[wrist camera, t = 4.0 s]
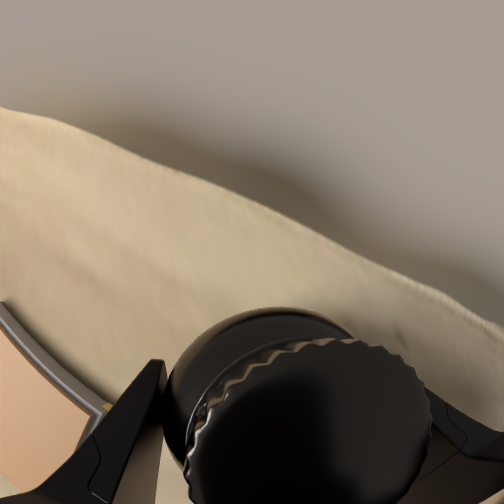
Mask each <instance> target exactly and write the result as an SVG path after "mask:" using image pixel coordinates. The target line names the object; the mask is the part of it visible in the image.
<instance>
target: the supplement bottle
mask: <svg viewBox="0 0 504 504" xmlns="http://www.w3.org/2000/svg"><path fill="white" fill-rule="evenodd" d="M161 420H162V429H163V433H164V438H165V441H166V444H167V447H168V449H169V451H170V453H171V456H172V457H173V459H174V461H175V462H176V464H177V465H178V467H179V468H180V469H181V471H182V472H183V475H184V478H185V480H186V482H187V484H188V485H189V487H188V496H189V499H190V500H191V501H192V502H193V503H194V504H397V503H398V502H399V501H400V500H401V499H402V498H403V497H404V496H405V495H406V494H407V493H408V491H409V489H410V487H411V485H412V483H413V482H414V481H415V479H416V478H417V477H418V475H419V473H420V470H421V466H422V464H423V463H424V461H425V459H426V458H427V454H428V446H429V443H430V441H431V438H432V434H431V425H432V420H433V418H432V415H431V413H430V399H429V398H428V396H427V395H426V394H425V386H424V383H423V382H422V381H421V380H419V379H418V378H417V376H416V372H415V370H414V368H413V367H411V366H408V365H405V363H404V362H403V359H402V358H401V356H400V355H398V354H393V353H389V352H388V351H387V350H386V349H385V348H384V347H383V346H381V345H378V344H371V345H367V344H366V343H364V342H363V341H361V340H359V339H358V338H357V337H356V336H355V335H354V334H353V333H351V332H350V331H349V330H348V329H347V328H345V327H344V326H343V325H341V324H339V323H338V322H336V321H335V320H333V319H330V318H328V317H326V316H324V315H321V314H319V313H316V312H313V311H309V310H305V309H300V308H294V307H267V308H259V309H255V310H250V311H246V312H243V313H240V314H237V315H234V316H232V317H230V318H227V319H225V320H223V321H221V322H219V323H218V324H216V325H214V326H213V327H211V328H210V329H208V330H207V331H205V332H204V333H203V334H201V335H200V336H199V337H198V338H197V339H196V340H195V341H194V342H193V343H192V344H191V345H190V346H189V347H188V348H187V349H186V350H185V352H184V353H183V354H182V355H181V357H180V358H179V360H178V361H177V363H176V364H175V366H174V368H173V370H172V372H171V374H170V376H169V378H168V381H167V383H166V386H165V390H164V394H163V399H162V406H161Z"/></svg>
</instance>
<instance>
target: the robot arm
mask: <svg viewBox="0 0 504 504" xmlns="http://www.w3.org/2000/svg"><path fill="white" fill-rule="evenodd" d="M167 381H168V379H167V372H166V367H165V362H164V360H162V359H151V360H150V361H149V362H148V363H147V365H146V366H145V367H144V368H143V369H142V371H141V372H140V373H139V374H138V375H137V377H136V378H135V379H134V380H133V382H132V383H131V384H130V385H129V387H128V388H127V389H126V390H125V391H124V393H123V394H122V395H121V396H120V398H119V399H118V400H117V401H116V402H115V404H114V405H113V406H112V407H111V409H110V410H109V411H108V412H107V414H106V415H105V416H104V417H103V419H102V420H101V421H100V422H99V424H98V425H97V426H96V427H95V428H94V430H93V431H92V433H90V434H89V436H88V437H87V438H86V440H85V441H84V442H83V443H82V444H81V445H80V447H79V448H78V449H77V450H76V451H75V452H74V453H73V454H72V455H71V456H70V457H69V458H68V459H67V460H66V461H65V462H64V463H63V464H62V465H61V466H60V467H59V468H58V469H57V470H56V471H55V472H54V473H53V474H52V475H50V476H49V477H48V478H47V479H46V480H45V481H44V482H43V483H42V484H40V485H39V486H38V487H36V488H34V489H33V490H30V491H28V492H25V493H21V494H17V495H12V496H8V497H3V498H0V504H155V496H156V488H157V479H158V471H159V464H160V457H161V450H162V443H163V437H164V433H163V429H162V420H161V406H162V399H163V394H164V390H165V386H166V383H167ZM425 394H426V395H427V396H428V398H429V399H430V413H431V415H432V418H433V420H432V425H431V434H432V438H431V441H430V443H429V446H428V454H427V458H426V459H425V461H424V463H423V464H422V466H421V470H420V473H419V475H418V477H417V478H416V479H415V481H414V482H413V483H412V485H411V487H410V489H409V491H408V493H407V494H406V495H405V496H404V497H403V498H402V499H401V500H400V501H399V502H398V503H397V504H504V432H499V431H495V430H492V429H490V428H488V427H486V426H484V425H483V424H481V423H479V422H477V421H475V420H474V419H472V418H470V417H468V416H467V415H465V414H463V413H462V412H460V411H459V410H457V409H456V408H454V407H453V406H451V405H450V404H448V403H447V402H445V401H444V400H443V399H441V398H440V397H438V396H437V395H435V394H434V393H433V392H431V391H430V390H428V389H427V388H426V387H425Z"/></svg>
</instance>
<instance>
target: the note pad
mask: <svg viewBox="0 0 504 504" xmlns="http://www.w3.org/2000/svg"><path fill="white" fill-rule="evenodd" d="M112 406H113V405H111V404H110V403H109V402H108V403H107V402H106V401H105V400H103V399H102V398H101V397H99V396H98V395H97V394H95V393H94V392H93V391H91V390H90V389H89V388H87V387H86V386H85V385H84V384H82V383H81V382H80V381H79V380H77V379H76V378H75V377H74V376H73V375H71V374H70V373H69V372H68V371H67V370H66V369H64V368H63V367H62V366H61V365H60V364H59V363H58V362H57V361H55V360H54V359H53V358H52V357H51V356H50V355H49V354H48V353H47V352H46V351H45V350H44V349H43V348H42V347H41V346H40V345H39V344H38V343H37V342H36V341H35V340H34V339H33V338H32V337H31V336H30V335H29V334H28V333H27V332H26V331H25V330H24V328H23V327H22V326H21V325H20V324H19V323H18V322H17V321H16V320H15V318H14V317H13V316H12V315H11V314H10V312H9V311H8V310H7V309H6V308H5V306H4V305H3V304H2V303H1V301H0V472H1V473H2V474H3V475H4V476H5V477H6V478H7V479H8V480H9V481H10V482H11V483H12V484H13V485H14V486H15V487H16V488H17V489H19V490H20V491H21V492H22V493H25V492H28V491H30V490H33V489H34V488H36V487H38V486H39V485H40V484H42V483H43V482H44V481H45V480H46V479H47V478H48V477H49V476H50V475H52V474H53V473H54V472H55V471H56V470H57V469H58V468H59V467H60V466H61V465H62V464H63V463H64V462H65V461H66V460H67V459H68V458H69V457H70V456H71V455H72V454H73V453H74V452H75V451H76V450H77V449H78V448H79V447H80V445H81V444H82V443H83V442H84V441H85V440H86V438H87V437H88V436H89V434H90V433H92V431H93V430H94V428H95V427H96V426H97V425H98V424H99V422H100V421H101V420H102V419H103V417H104V416H105V415H106V414H107V412H108V411H109V410H110V409H111V407H112Z"/></svg>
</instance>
